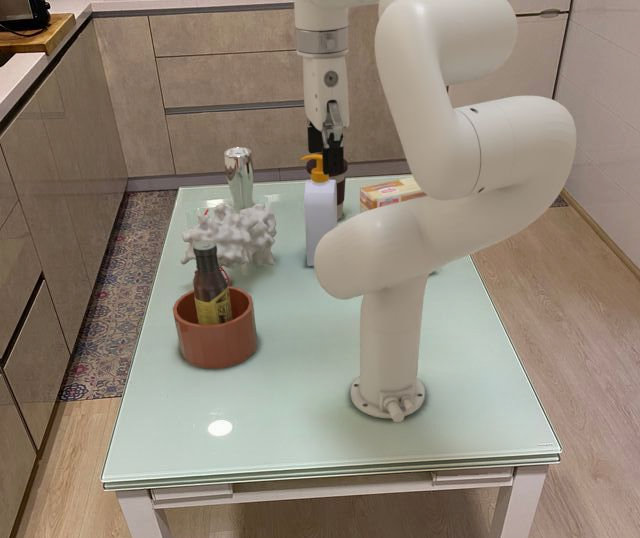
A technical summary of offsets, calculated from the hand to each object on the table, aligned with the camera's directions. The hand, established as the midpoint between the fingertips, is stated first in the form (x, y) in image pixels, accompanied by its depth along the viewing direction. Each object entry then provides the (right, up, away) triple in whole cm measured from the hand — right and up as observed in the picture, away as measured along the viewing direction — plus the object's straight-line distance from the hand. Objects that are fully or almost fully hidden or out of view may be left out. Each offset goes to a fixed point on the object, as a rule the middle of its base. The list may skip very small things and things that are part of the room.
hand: (325, 162), depth 107 cm
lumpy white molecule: (-20, -9, +41) cm, 47 cm away
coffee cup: (+1, +11, +63) cm, 64 cm away
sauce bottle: (-20, -26, +20) cm, 39 cm away
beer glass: (-21, +14, +67) cm, 72 cm away
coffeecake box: (+16, -9, +40) cm, 44 cm away
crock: (-20, -27, +21) cm, 39 cm away
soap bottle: (-1, -4, +47) cm, 47 cm away
